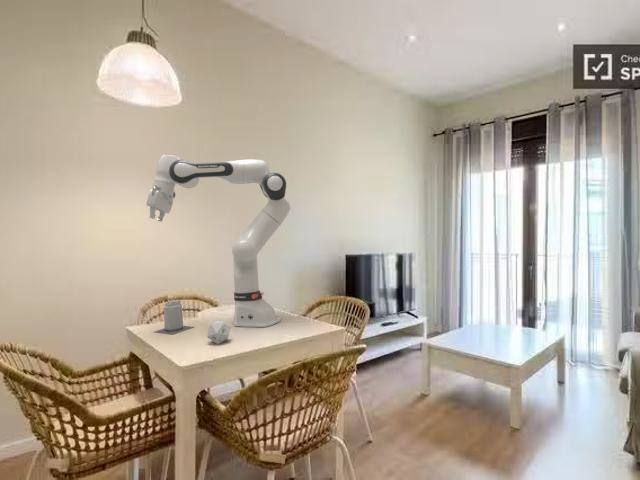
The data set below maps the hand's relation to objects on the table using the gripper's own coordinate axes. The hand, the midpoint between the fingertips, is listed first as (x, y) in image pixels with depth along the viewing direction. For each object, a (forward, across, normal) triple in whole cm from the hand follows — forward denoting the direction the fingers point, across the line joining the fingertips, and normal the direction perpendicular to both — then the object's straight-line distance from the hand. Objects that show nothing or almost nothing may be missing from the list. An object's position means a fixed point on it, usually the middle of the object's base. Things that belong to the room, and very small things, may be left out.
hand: (155, 219), depth 160 cm
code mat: (+46, +3, -17) cm, 49 cm away
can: (+46, +3, -17) cm, 49 cm away
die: (+43, -21, -41) cm, 63 cm away
